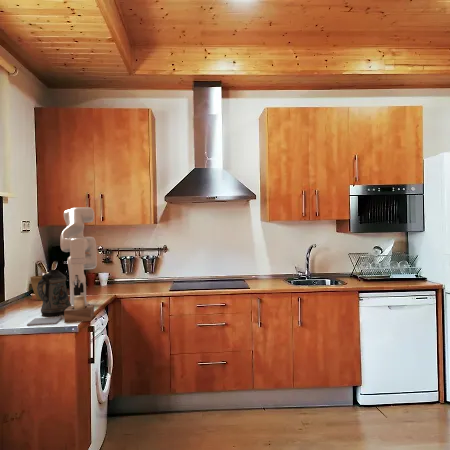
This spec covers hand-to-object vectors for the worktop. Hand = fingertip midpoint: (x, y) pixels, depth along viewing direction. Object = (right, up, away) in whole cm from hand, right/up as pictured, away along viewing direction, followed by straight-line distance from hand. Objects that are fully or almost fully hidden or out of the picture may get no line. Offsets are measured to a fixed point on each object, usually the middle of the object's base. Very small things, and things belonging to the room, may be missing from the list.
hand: (79, 293), depth 235 cm
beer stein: (-18, -14, +15) cm, 27 cm away
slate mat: (-16, -14, -4) cm, 22 cm away
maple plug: (0, -14, +1) cm, 13 cm away
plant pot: (-47, -15, +68) cm, 84 cm away
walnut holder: (0, -13, +1) cm, 13 cm away
